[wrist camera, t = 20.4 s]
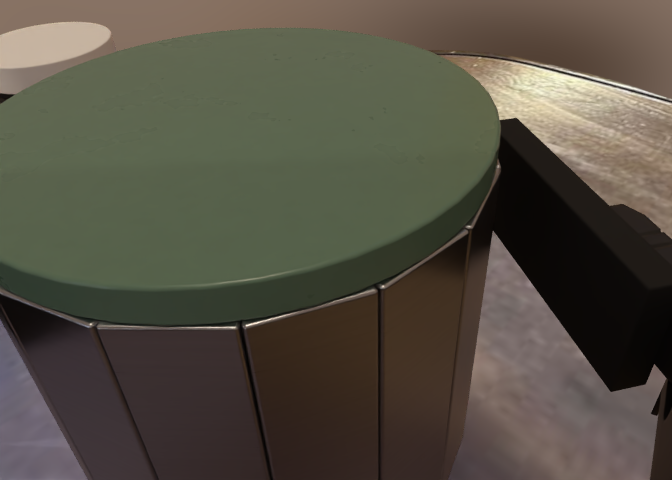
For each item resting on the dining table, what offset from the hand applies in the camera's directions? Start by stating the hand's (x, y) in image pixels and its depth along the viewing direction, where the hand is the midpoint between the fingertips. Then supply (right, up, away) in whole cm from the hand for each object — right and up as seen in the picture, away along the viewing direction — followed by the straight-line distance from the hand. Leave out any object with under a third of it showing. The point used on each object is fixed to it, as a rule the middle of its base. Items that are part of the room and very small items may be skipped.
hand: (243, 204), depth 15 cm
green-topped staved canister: (0, -6, +4) cm, 7 cm away
